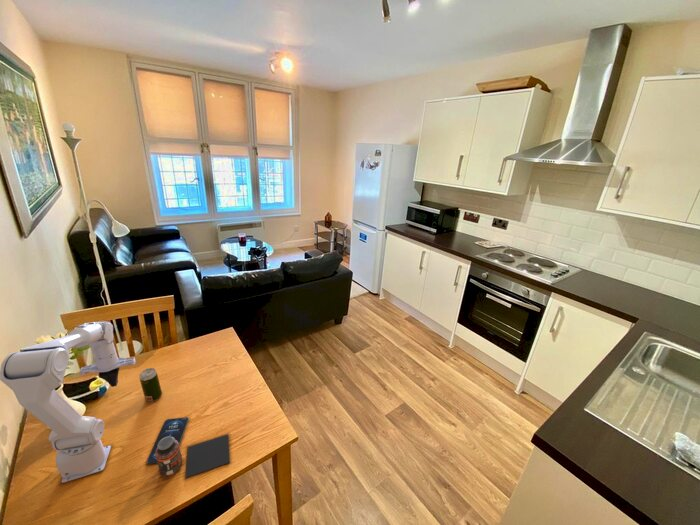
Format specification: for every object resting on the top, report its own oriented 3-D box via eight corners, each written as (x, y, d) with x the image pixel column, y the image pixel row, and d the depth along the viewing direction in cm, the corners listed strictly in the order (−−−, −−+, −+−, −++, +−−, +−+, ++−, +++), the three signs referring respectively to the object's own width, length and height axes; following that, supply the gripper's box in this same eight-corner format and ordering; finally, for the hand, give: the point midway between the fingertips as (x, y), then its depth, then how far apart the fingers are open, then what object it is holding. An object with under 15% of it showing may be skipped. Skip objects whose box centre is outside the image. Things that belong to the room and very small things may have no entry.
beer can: (159, 402, 107) (152, 377, 102) (142, 404, 106) (135, 379, 101) (164, 390, 112) (158, 366, 107) (149, 392, 111) (142, 368, 106)
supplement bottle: (176, 478, 84) (169, 454, 79) (155, 476, 84) (147, 452, 79) (187, 457, 89) (181, 433, 84) (167, 455, 89) (161, 432, 84)
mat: (185, 478, 84) (185, 477, 84) (188, 447, 92) (188, 446, 92) (229, 462, 89) (229, 462, 89) (228, 434, 97) (228, 434, 97)
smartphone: (145, 463, 86) (165, 419, 100) (145, 464, 87) (165, 420, 100) (173, 459, 88) (189, 416, 101) (173, 460, 88) (189, 417, 102)
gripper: (133, 341, 102) (141, 371, 107) (81, 350, 96) (92, 381, 101) (128, 354, 96) (137, 385, 101) (72, 364, 90) (85, 396, 95)
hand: (114, 384), depth 101 cm, fingers closed
